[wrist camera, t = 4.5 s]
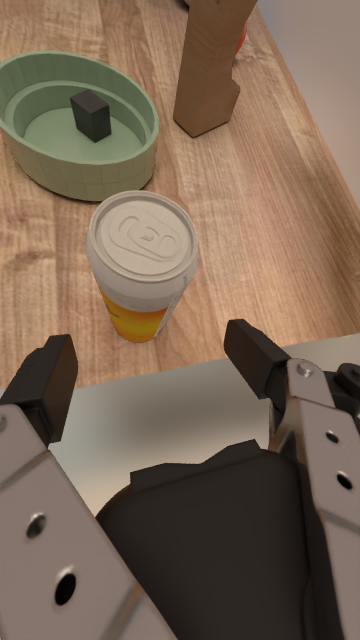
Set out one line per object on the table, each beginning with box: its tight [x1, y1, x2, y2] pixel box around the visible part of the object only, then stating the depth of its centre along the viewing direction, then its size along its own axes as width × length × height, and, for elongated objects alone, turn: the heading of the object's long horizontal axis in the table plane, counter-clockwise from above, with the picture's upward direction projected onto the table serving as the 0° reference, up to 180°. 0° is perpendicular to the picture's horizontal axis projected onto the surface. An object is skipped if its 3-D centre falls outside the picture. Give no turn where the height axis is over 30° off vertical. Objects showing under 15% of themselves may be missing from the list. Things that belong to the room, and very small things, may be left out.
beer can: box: [86, 190, 199, 342], centre depth 17 cm, size 6×6×15 cm
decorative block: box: [173, 0, 257, 137], centre depth 27 cm, size 11×6×20 cm, turn 134°
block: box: [70, 89, 112, 143], centre depth 28 cm, size 4×4×4 cm
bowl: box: [0, 50, 159, 201], centre depth 26 cm, size 19×19×6 cm
